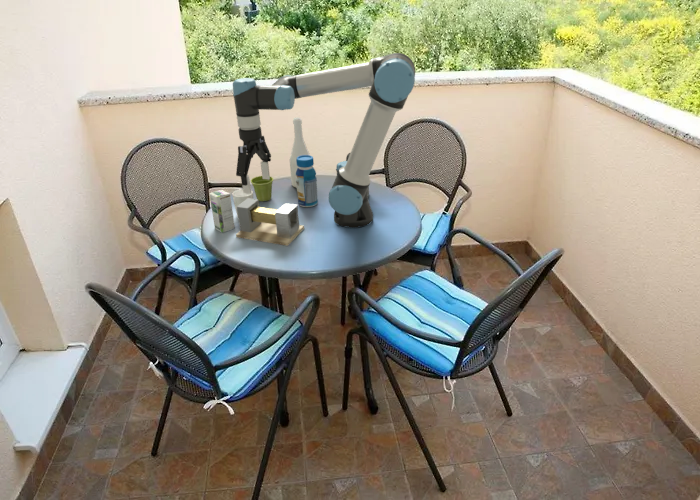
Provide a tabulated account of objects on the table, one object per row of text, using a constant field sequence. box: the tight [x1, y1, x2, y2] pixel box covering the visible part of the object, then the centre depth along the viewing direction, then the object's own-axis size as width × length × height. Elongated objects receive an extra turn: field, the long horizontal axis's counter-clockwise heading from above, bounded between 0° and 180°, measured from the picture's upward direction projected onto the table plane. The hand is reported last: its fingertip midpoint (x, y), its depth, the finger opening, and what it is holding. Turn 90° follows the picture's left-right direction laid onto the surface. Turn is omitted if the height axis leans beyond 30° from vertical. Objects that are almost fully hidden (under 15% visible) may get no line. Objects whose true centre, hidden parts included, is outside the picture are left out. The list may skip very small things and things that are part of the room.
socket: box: [236, 198, 261, 232], centre depth 190 cm, size 4×8×10 cm, turn 160°
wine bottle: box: [289, 117, 311, 189], centre depth 222 cm, size 10×10×30 cm
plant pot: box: [250, 175, 274, 202], centre depth 215 cm, size 9×9×9 cm
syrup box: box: [209, 189, 236, 234], centre depth 191 cm, size 6×6×14 cm
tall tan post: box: [250, 206, 278, 224], centre depth 187 cm, size 14×4×4 cm, turn 70°
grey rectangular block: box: [275, 202, 300, 239], centre depth 185 cm, size 5×8×10 cm, turn 160°
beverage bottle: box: [296, 154, 319, 208], centre depth 207 cm, size 8×8×20 cm
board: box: [235, 222, 305, 247], centre depth 190 cm, size 21×14×1 cm, turn 70°
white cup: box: [231, 188, 254, 218], centre depth 201 cm, size 8×8×10 cm
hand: (257, 185), depth 182 cm, fingers open, 13 cm apart
